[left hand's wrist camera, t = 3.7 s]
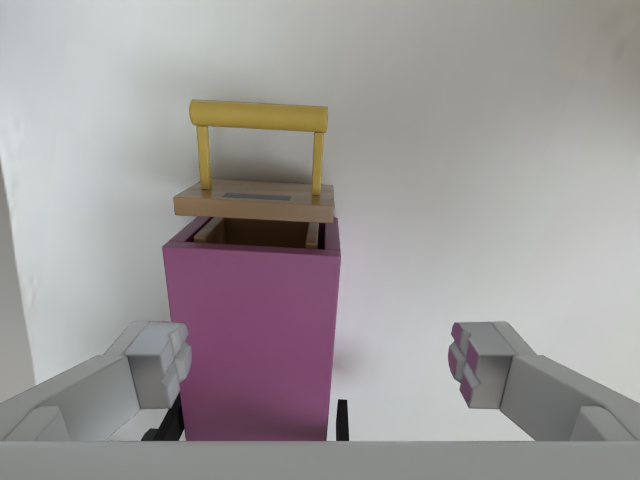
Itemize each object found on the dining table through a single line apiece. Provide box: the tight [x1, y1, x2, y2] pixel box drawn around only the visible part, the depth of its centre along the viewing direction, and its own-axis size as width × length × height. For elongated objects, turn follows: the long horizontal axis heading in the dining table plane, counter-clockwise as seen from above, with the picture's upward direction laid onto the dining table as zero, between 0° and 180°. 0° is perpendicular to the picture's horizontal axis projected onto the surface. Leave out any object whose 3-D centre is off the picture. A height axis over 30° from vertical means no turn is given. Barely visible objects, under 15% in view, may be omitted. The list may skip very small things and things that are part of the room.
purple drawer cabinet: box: [162, 216, 341, 441], centre depth 29 cm, size 20×11×8 cm, turn 177°
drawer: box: [173, 100, 334, 249], centre depth 27 cm, size 24×10×6 cm, turn 177°
